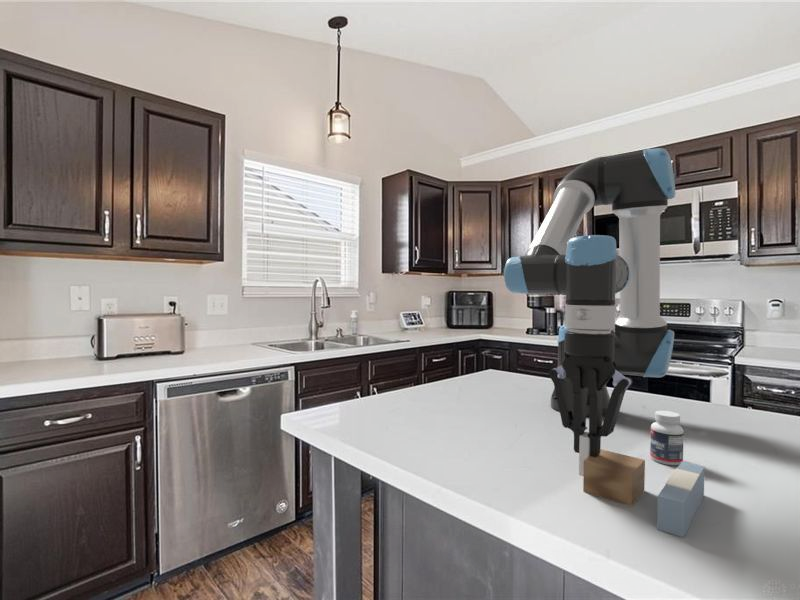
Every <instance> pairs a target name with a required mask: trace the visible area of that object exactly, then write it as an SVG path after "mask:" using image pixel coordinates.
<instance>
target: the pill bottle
mask: <svg viewBox="0 0 800 600" xmlns="http://www.w3.org/2000/svg"><path fill="white" fill-rule="evenodd" d="M654 420H655V422H652V424H650V445H649V446H650V447H649V454H650V455H649V456H650V459H651V460H652V461H654V462H657V463H659V464H662V465H668V466H679V465H680V463H681V462H682V461H683V462H684V440H685V439H684V437H685V436H684V432H685V431H684V429H683V427H682V426H681V425H680V423H681V415H680V413H678V412H674V411H669V410H657V411H655V413H654Z"/></svg>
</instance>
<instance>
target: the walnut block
mask: <svg viewBox="0 0 800 600" xmlns="http://www.w3.org/2000/svg"><path fill="white" fill-rule="evenodd" d="M645 467H646V459H643V458H639V457H635V456H630V455H627V454H626V455H625V454H621V453H617V452H614V451H609V450H605V449H601V448H600V454H599V455H598V456H597V457H592V456H589V457H588V458H586V459H585V460H584V476H583V481H582V482H583V485H582V486H583V487H582V488H583V492H585V493H587V494H590V495H593V496H597V497H600V498H603V499H607V500H610V501H613V502H616V503H619V504H623V505H626V506H628V507H633V505H634V504H635V503H636V502H637V500H638V499H639V498H640V497H641V496H642V494H643V493H644V491H645V478H646V477H645V475H646V474H645V473H646V468H645Z"/></svg>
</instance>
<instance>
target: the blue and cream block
mask: <svg viewBox="0 0 800 600" xmlns="http://www.w3.org/2000/svg"><path fill="white" fill-rule="evenodd" d="M674 469H675V470H674V471H673V472H672V474H670V476H669V478H668V479H667V481H666V482H665V485H664V486H663V487H662V489H661V490H660V492H659V494H658V495H657V517H656V518H657V520H656V521H657V525H656V529H657V530H660V531H662V532H665V533H669V534H672V535H675V536H678V537H680V538H685V536H686V533H687V532H688V530H689V527H690V525H691V523H692V521H693V519H694V517H695V515H696V513H697V511H698V508H699V506H700V504H701V502H702V500H703V498H704V495H705V466H704V465H701V464H696V463H692V462H691V463H690V462H686V461H684V460H683V461H682V462H681V463H680V465H677V468H674Z"/></svg>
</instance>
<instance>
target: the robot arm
mask: <svg viewBox="0 0 800 600" xmlns="http://www.w3.org/2000/svg"><path fill="white" fill-rule="evenodd" d="M675 197H676V182H675V174H674V168H673V164H672V159H671V156H670V153H669V151H668V150H667V149H665V148H664V147H663V148H662V147H658V148H645V149H644V148H643V149H639V150H634V151H628V152H623V153H617V154H612V155H605V156H600V157H599V156H598V157H595V158H591V159H589V160H587V161H584V162H583V163H581V164H580V165H578V166H576V167H575V168H574V169H573V170H571V171H570V172H569V173H567V175H565V176H564V177H563V178H562V179H561V180H560V182H559V183H558V185H557V187H556V188H555V190H554V193H553V197H552V199H553V203H552V205H551V206H550V208H549V211H548V212H547V214H546V216H545V217H544V219H543V221H542V223H541V225H540V227H539V228H538V231H537V232H536V233H535V236H534V238H533V239H532V241H531V244H529V247H528V249H527V250H526V252H525V254H524V255H518V256H512V257H509V258H508V259H507V260H506V263H505V265H504V269H503V270H504V271H503V279H504V283H505V286H506V289H508V291H509V292H510V293H514V294H526V295H559V294H561V295H565V306H564V307H565V308H564V309H565V311H564V312H565V313H564V324H563V325H561V326H560V328H558V340H557V367H555V368H552V369H549V370H548V372H547V374H548V376H549V378H550V379H551V381H552V383H553V386H554V387H553V391H552V393H551V396H550V407H551V408H552V409H554V410H556V411H558V412H559V414H560V418H561V419H560V420H561V425H562V427H563V428H565V429H569V430H571V431H572V433H573V451H574V453H577V454H579V455H578V475H579V476H581V477H584V460H585V459H586V458H588V457H589V456H592V457H597V456H598V455H599V454H600V449H601V442H602V441H601V440H602V439H601V438H602V437H608V436H610V435H611V434H612V433H613V432H614V430H615V427H616V424H617V421H618V417H619V413H620V410H621V407H622V403H623V400H624V396H625V393H626V391H627V390H628V389H629V388H630V386H631V385H632V384H633V379H632V378H631V377H627V376H625V375H628V376H636V377H637V376H638V377H643V378H663V377H665V376H666V375H667V373H668V371H669V367H670V363H671V360H672V354H673V349H674V348H673V347H674V342H675V332H674V331H673V330H671V329H668V321H667V320H666V319H664V318H663V317H662V316H661V315H660V314H661V311H660V310H661V309H660V308H661V307H660V306H661V301H660V300H661V299H660V298H661V292H660V291H661V288H660V287H661V284H660V283H661V277H660V276H661V274H660V273H661V271H660V270H661V269H660V267H661V214H662V213H663V212H664V211H665V210H666V209H667V208H669V207H668V204H669V203H668V201H669V200H671V199H674V198H675ZM608 205H611V212H612V213H613V214H614V215H615V216H616V217H618V219H619V220H618V228H619V229H618V230H619V232H618V233H619V237H618V239H619V241H618V242H619V244H618V246H619V248H618V249H619V250H617V240H616V239H615V237H613V236H611V235H603V234H601V235H600V234H591V235H579V236H575V235H576V234H577V232H578V230H579V227H580V226H581V225H580V224H581V222H582V221H583V218H584V216H585V215H586V214H587V213H588V212H590V211H591V210H592V208H593V207H597V206H608ZM618 251H619V252H618ZM618 253H619V254H618ZM617 293H619V314H618V317H616V294H617ZM611 379H613V380H612V386H613V387H614V388H613V390H612V391H611V395H610V394H609V391H608V387H607V384H608V382H609V381H610V380H611ZM587 417H588V418H589V419H588V421H589V422H588V427H587ZM603 417H604V419H603ZM587 429H588V431H586V430H587Z"/></svg>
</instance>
